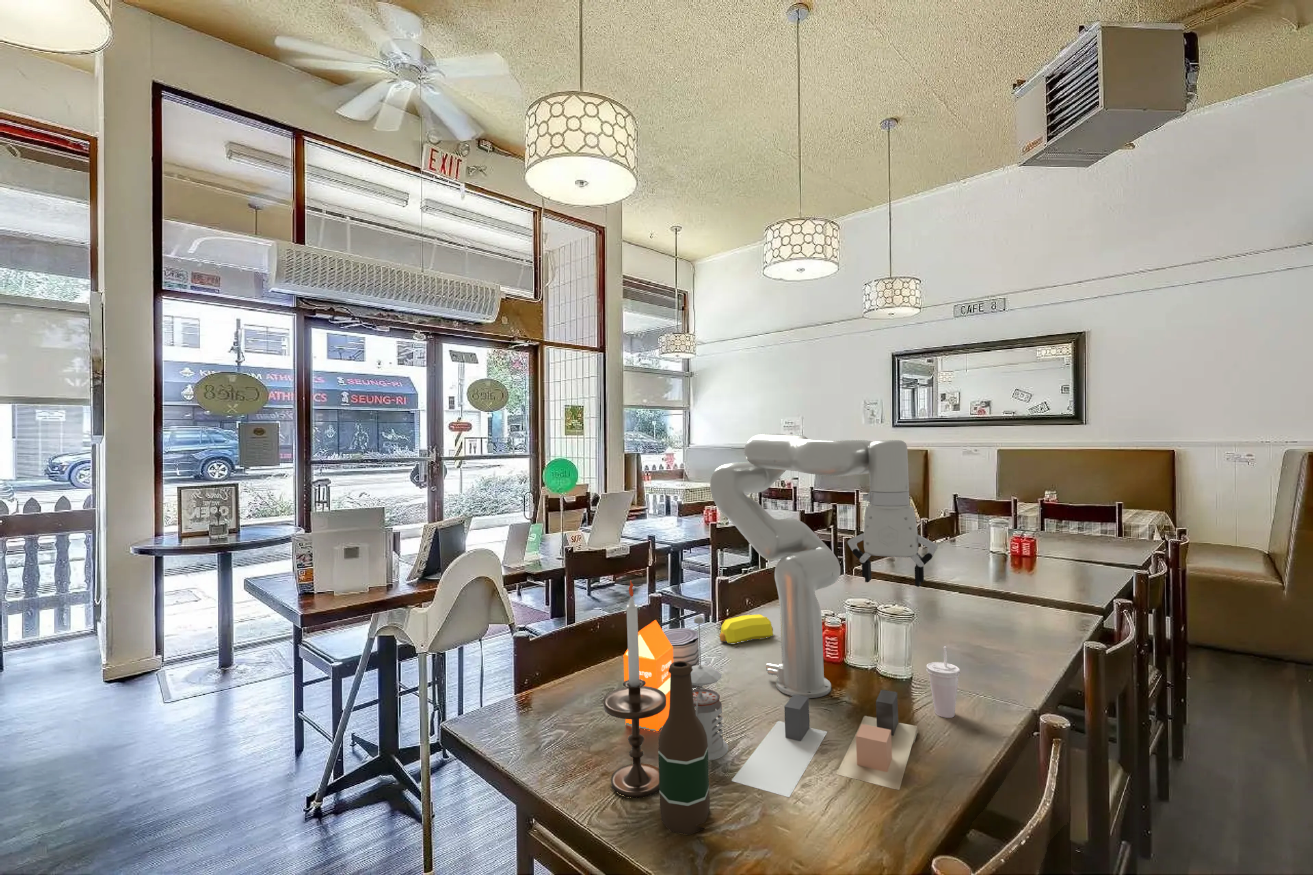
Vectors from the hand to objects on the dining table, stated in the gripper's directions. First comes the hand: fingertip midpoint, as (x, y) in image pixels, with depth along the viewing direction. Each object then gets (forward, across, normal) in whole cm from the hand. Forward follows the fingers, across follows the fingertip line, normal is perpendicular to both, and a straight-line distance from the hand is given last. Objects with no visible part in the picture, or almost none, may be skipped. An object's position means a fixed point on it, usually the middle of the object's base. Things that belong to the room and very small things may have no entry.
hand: (892, 583), depth 120 cm
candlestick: (+28, -36, -43) cm, 63 cm away
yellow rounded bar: (+29, -47, +35) cm, 65 cm away
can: (+29, -50, -3) cm, 58 cm away
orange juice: (+28, -46, -22) cm, 58 cm away
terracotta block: (+27, -1, -20) cm, 34 cm away
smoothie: (+28, +8, +8) cm, 31 cm away
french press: (+28, -31, -28) cm, 51 cm away
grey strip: (+28, -16, -25) cm, 41 cm away
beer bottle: (+28, -24, -48) cm, 61 cm away
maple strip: (+28, -1, -15) cm, 32 cm away
